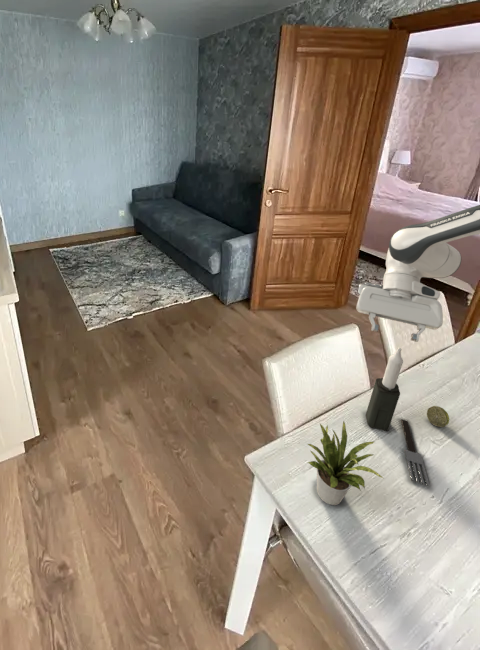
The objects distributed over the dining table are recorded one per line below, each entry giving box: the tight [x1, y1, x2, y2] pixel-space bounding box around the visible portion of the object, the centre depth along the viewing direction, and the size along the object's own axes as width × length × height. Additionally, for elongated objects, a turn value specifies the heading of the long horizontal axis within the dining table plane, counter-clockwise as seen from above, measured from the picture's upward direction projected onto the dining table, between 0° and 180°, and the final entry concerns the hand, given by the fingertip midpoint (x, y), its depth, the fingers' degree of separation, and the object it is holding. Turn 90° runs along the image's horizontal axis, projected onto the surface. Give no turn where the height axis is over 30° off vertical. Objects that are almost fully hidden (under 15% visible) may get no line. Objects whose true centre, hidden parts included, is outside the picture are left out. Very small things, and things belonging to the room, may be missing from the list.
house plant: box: [306, 420, 385, 506], centre depth 73 cm, size 14×14×16 cm
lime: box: [426, 405, 450, 428], centre depth 93 cm, size 4×5×5 cm
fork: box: [400, 419, 430, 487], centre depth 86 cm, size 4×18×1 cm, turn 158°
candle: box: [365, 347, 404, 432], centre depth 89 cm, size 5×5×25 cm
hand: (394, 335), depth 94 cm, fingers open, 8 cm apart
